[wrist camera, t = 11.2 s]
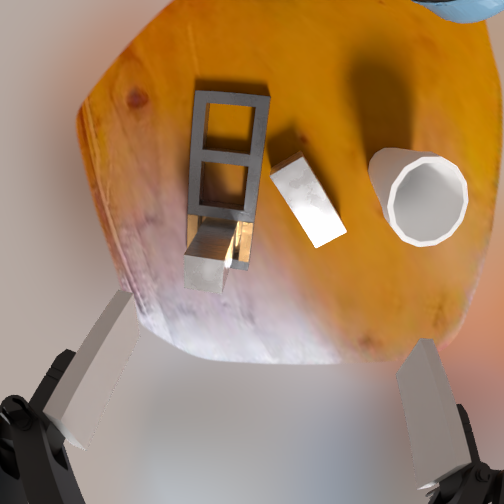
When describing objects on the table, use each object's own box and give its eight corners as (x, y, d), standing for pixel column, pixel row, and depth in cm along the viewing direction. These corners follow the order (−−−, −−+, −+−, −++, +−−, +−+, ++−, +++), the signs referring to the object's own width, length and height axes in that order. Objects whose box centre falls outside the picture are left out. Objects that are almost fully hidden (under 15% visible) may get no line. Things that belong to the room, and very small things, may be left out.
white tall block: (206, 216, 42) (183, 254, 32) (238, 220, 42) (224, 261, 32) (205, 244, 44) (184, 287, 35) (235, 248, 44) (221, 294, 35)
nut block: (271, 167, 38) (269, 176, 34) (300, 150, 37) (302, 156, 33) (312, 232, 42) (315, 248, 38) (340, 218, 41) (346, 231, 37)
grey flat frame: (199, 90, 34) (195, 90, 32) (270, 96, 34) (270, 96, 32) (190, 254, 46) (186, 261, 44) (249, 263, 45) (247, 271, 43)
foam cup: (375, 214, 40) (406, 261, 28) (344, 157, 36) (371, 185, 25) (429, 183, 36) (476, 219, 25) (403, 124, 33) (451, 140, 22)
